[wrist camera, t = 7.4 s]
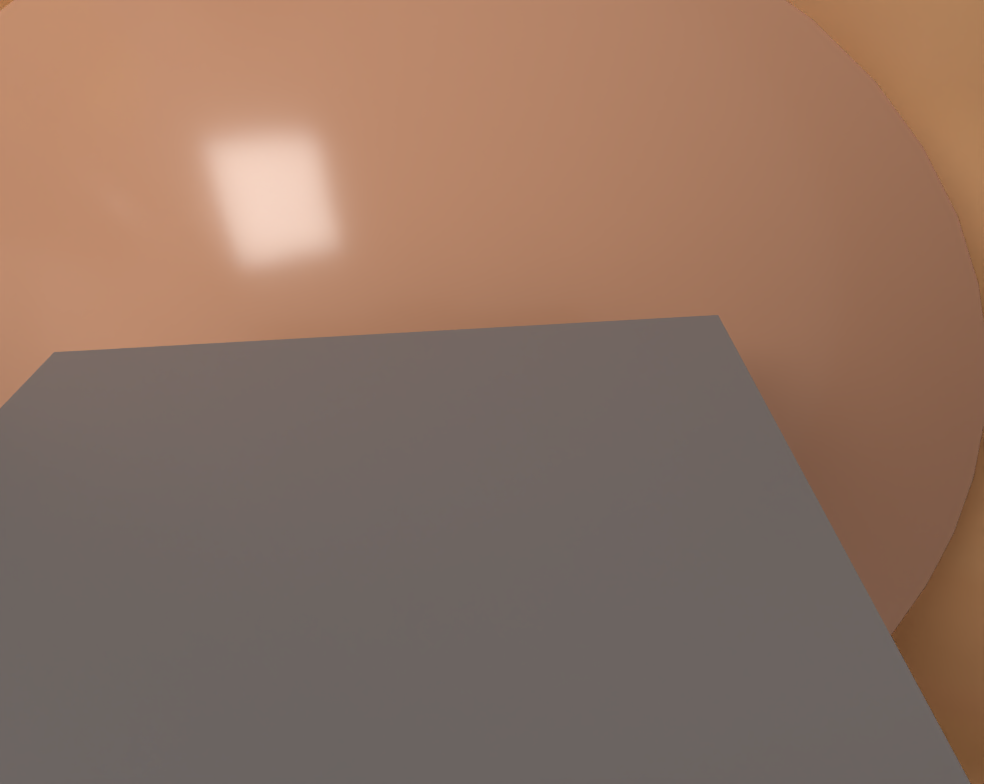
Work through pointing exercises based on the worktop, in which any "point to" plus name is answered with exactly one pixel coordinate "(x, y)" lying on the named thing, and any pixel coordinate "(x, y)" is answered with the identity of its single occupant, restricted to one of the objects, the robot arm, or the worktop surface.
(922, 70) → the worktop surface
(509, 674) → the matte slate cube
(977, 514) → the worktop surface
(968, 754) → the worktop surface
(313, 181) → the peach round platter
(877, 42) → the worktop surface
